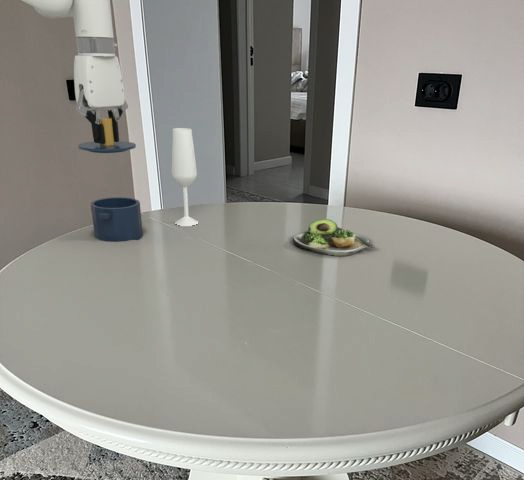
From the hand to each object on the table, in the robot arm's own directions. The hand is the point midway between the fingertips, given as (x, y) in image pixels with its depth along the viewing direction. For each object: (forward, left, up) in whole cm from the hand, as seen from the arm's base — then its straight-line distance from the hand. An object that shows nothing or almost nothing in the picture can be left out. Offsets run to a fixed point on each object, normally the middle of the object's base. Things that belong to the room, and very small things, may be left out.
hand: (106, 141), depth 119 cm
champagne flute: (+13, +19, -23) cm, 33 cm away
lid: (0, 0, -1) cm, 1 cm away
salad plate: (+52, +6, -23) cm, 57 cm away
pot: (-1, +4, -23) cm, 24 cm away
